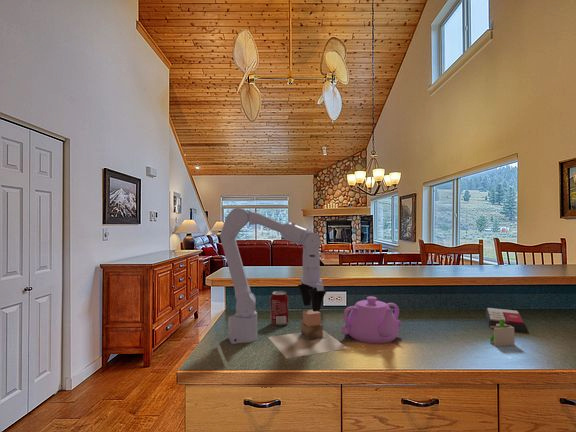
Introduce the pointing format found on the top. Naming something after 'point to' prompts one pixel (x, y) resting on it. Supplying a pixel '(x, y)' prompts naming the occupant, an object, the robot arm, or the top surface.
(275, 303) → the soda can
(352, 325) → the teapot
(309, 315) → the terracotta block
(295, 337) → the beige flat square
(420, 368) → the top surface
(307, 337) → the walnut block
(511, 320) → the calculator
